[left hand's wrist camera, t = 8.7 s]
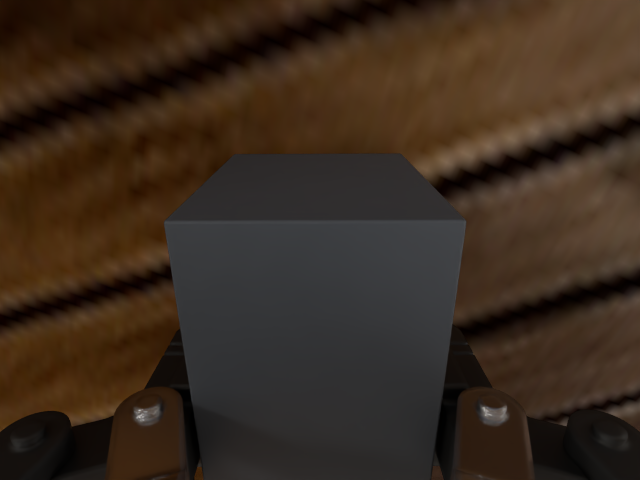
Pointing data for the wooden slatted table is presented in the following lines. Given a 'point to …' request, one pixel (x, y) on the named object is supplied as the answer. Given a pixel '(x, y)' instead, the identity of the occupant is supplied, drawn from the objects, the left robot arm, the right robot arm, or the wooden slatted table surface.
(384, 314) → the bar
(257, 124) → the wooden slatted table surface
